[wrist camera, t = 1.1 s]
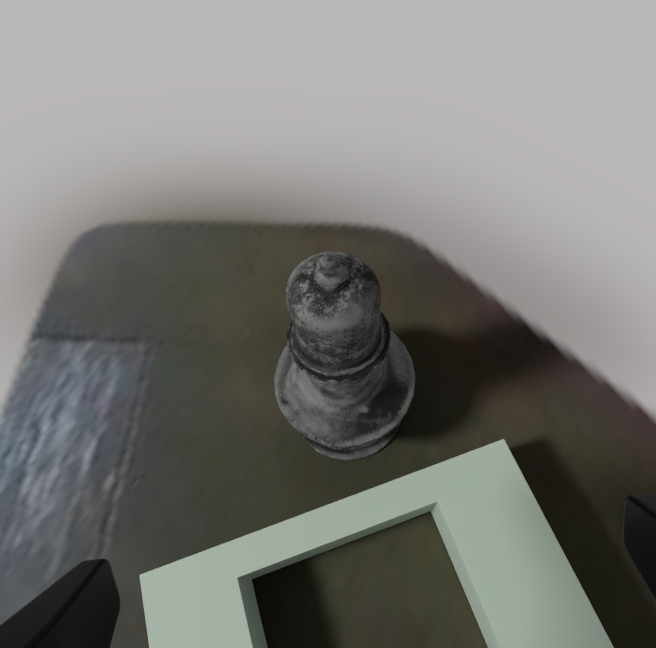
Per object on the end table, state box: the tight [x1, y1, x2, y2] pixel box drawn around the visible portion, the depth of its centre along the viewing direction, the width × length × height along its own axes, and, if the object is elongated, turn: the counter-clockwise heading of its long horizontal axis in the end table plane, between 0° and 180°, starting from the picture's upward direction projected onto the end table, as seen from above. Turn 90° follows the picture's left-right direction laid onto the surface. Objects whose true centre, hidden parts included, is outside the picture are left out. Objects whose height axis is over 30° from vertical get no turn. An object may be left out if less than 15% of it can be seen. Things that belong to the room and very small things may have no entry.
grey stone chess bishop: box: [274, 251, 415, 461], centre depth 19 cm, size 6×6×12 cm
